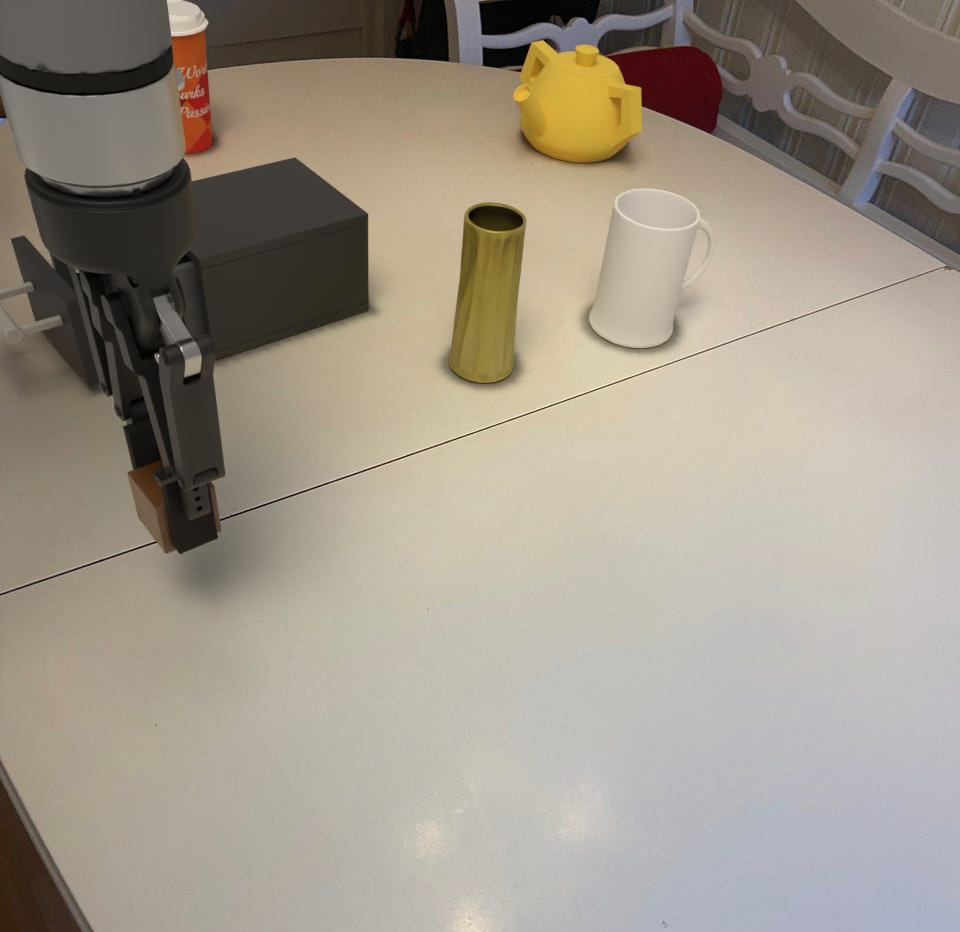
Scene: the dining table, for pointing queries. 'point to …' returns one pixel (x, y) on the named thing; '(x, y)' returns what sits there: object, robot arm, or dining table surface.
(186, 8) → the paper cup
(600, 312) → the mug
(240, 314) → the dark grey storage box
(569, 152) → the teapot
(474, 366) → the vase
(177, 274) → the drawer
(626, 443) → the dining table surface
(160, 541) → the block
